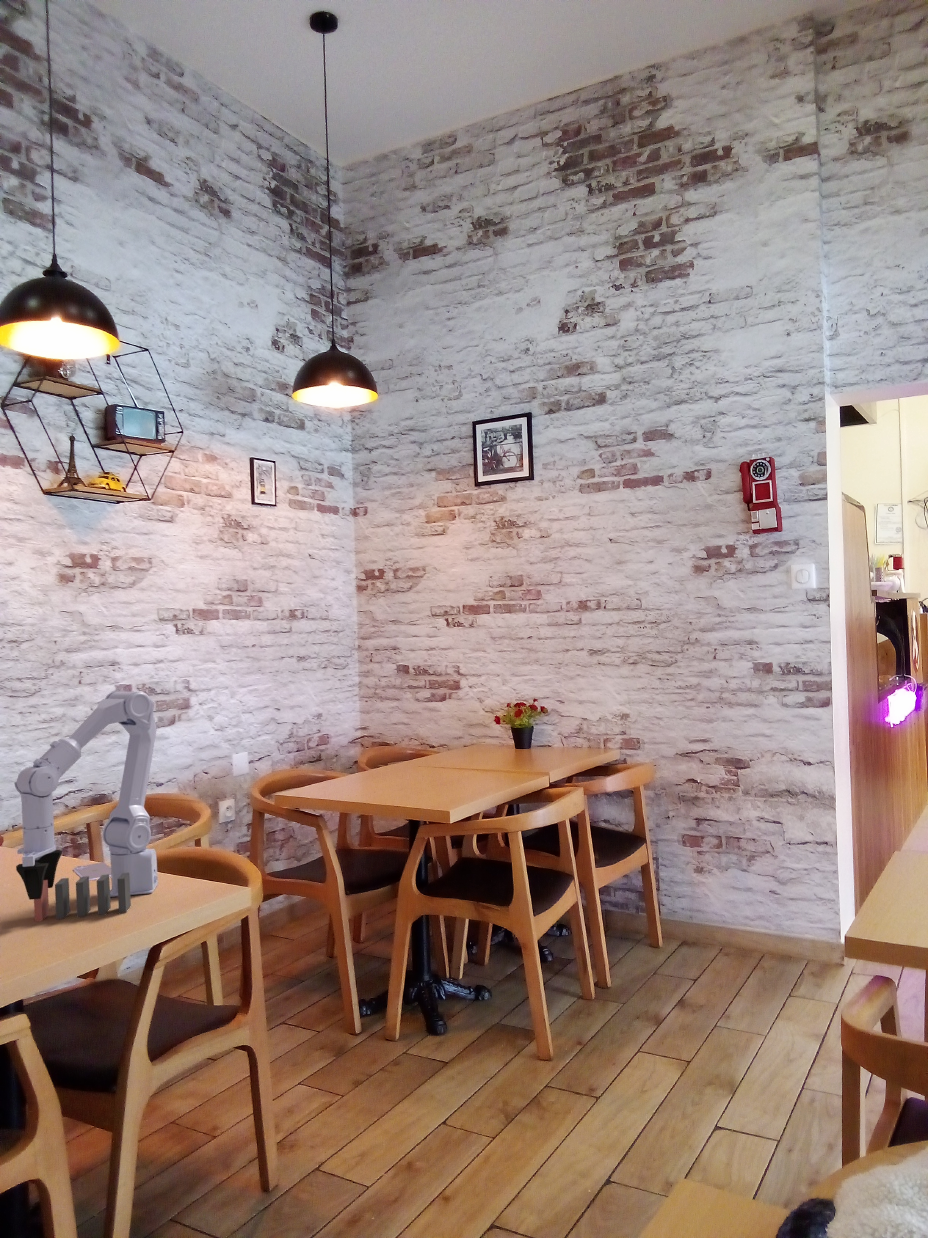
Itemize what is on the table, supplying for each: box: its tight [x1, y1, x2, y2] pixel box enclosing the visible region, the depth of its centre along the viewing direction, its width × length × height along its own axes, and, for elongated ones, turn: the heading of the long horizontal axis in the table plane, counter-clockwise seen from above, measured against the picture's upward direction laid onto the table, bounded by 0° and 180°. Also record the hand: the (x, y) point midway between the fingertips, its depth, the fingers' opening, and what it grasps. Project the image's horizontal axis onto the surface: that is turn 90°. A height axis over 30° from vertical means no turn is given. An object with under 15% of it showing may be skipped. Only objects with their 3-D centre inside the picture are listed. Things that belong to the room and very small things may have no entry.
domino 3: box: [96, 874, 111, 916], centre depth 181 cm, size 1×4×7 cm, turn 9°
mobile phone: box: [72, 861, 111, 882], centre depth 213 cm, size 8×1×15 cm
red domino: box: [33, 880, 50, 922], centre depth 179 cm, size 1×4×7 cm, turn 9°
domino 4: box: [117, 873, 132, 914], centre depth 182 cm, size 1×4×7 cm, turn 9°
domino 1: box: [54, 877, 71, 920], centre depth 180 cm, size 1×4×7 cm, turn 9°
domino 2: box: [75, 876, 91, 918], centre depth 180 cm, size 1×4×7 cm, turn 9°
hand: (41, 893), depth 179 cm, fingers open, 7 cm apart
